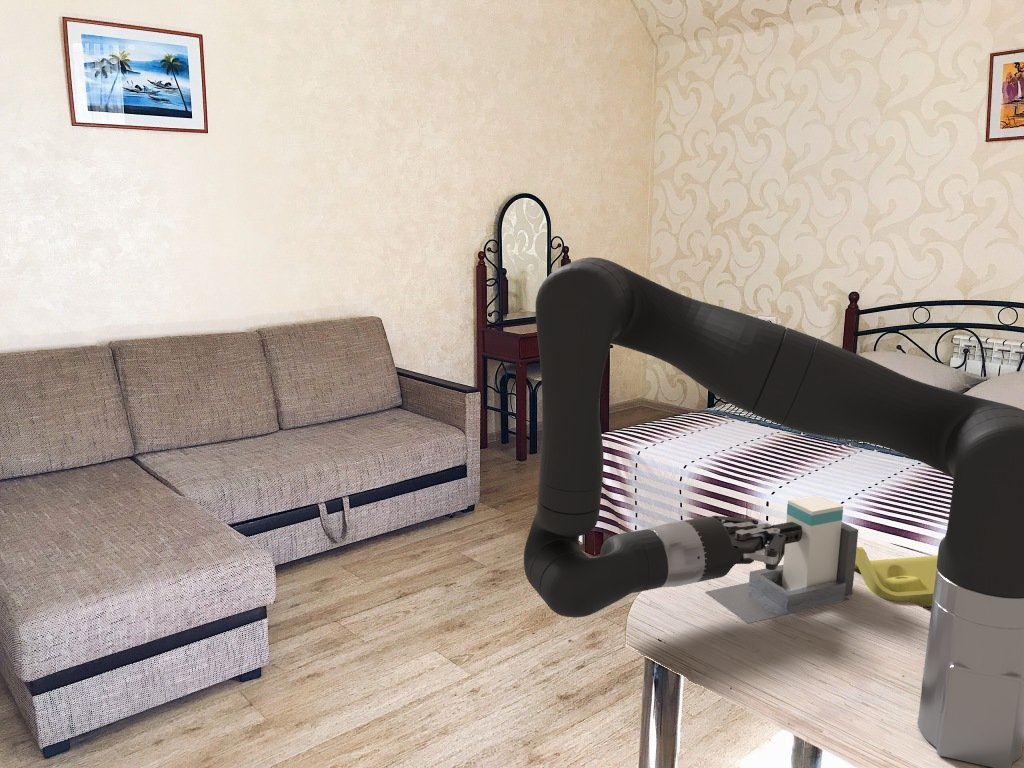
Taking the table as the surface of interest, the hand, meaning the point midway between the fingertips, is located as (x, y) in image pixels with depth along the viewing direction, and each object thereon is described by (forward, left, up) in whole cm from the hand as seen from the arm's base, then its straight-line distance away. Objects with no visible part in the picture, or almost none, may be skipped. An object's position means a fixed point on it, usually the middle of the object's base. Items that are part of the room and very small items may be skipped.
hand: (797, 531), depth 110 cm
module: (+2, -2, -9) cm, 9 cm away
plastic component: (+10, -17, -10) cm, 23 cm away
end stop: (+4, -4, -10) cm, 12 cm away
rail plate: (-2, +2, -10) cm, 10 cm away
